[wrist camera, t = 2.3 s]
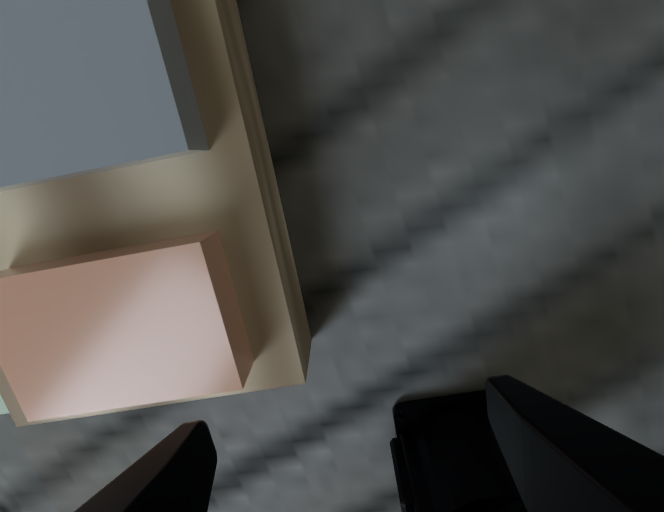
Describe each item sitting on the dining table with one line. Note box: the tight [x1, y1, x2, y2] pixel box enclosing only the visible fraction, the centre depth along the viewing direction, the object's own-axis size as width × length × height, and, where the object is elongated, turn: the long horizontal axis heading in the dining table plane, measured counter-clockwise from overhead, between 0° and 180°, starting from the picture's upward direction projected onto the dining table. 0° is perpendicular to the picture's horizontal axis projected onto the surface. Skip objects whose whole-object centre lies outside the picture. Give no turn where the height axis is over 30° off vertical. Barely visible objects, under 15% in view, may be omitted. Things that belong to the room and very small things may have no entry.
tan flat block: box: [0, 0, 312, 427], centre depth 16 cm, size 14×18×4 cm
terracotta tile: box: [0, 230, 254, 422], centre depth 15 cm, size 9×6×2 cm, turn 101°
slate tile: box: [0, 0, 210, 192], centre depth 12 cm, size 9×6×2 cm, turn 100°
